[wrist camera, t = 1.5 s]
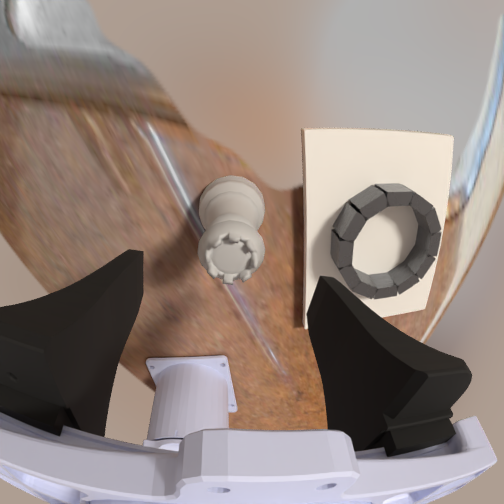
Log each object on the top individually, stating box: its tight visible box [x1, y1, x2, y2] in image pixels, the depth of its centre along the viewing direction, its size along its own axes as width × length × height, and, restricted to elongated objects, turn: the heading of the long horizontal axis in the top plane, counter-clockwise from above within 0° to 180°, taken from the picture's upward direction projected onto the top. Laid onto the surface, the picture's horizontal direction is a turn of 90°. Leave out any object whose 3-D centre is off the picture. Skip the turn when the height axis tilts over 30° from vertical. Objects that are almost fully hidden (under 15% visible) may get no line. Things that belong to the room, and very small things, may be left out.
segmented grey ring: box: [330, 183, 442, 300], centre depth 21 cm, size 8×8×2 cm
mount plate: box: [301, 128, 453, 329], centre depth 22 cm, size 16×12×1 cm
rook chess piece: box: [198, 175, 265, 285], centre depth 18 cm, size 4×4×8 cm
